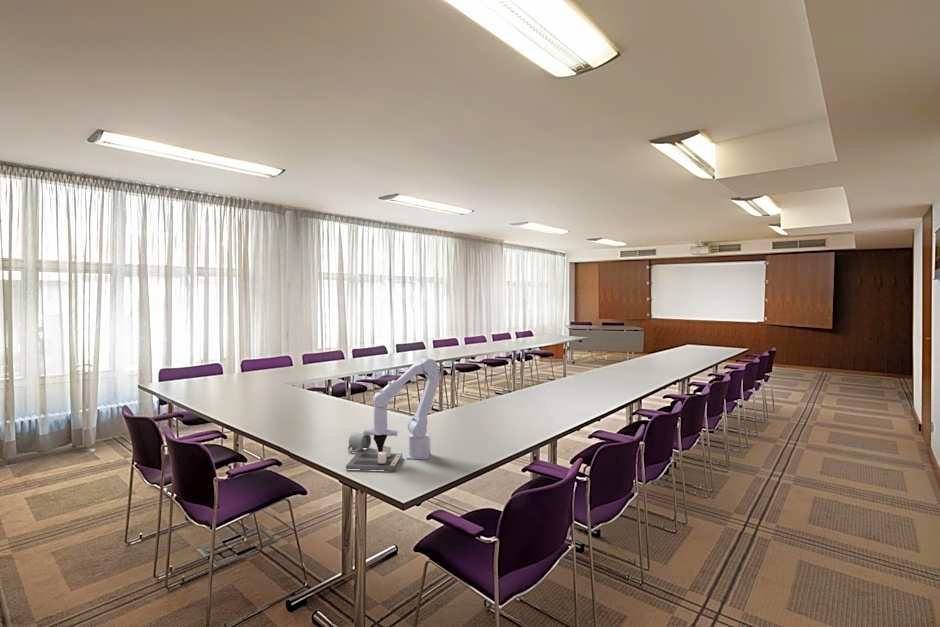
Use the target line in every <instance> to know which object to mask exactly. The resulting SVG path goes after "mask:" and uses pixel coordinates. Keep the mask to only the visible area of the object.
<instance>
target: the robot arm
mask: <svg viewBox="0 0 940 627" xmlns="http://www.w3.org/2000/svg"><path fill="white" fill-rule="evenodd" d="M423 374H424V375H425V378H426V379H427V380H426V384H425V385H424V389H423V392H422V394H421V397H420V399H419V400H420V401H419V404H418V407H417V410H416V411H415V413H414V415H413V416H412V419H411V420H410V421H408V424H407V430H408V431H409V435H408V455H407V456H406V459H408V460H409V459H410V460H428V459H429V457H430V456H431V436H428V435H427V430H428V429H427V427H428V415H429V413H430V409H431V406H432V403H433V401H434V398H435V395H436V393H437V390H438V386H439V383H440V379H441V377H440V371H439V364H438V363H437V362H436V361H435V359H433V358H429V357H428V356H422V357H420V358H419V359H418V360H416V361H415V362H414V363H413V364H411V366H410V367H409V368H408V369H407V370H405V372H404V373H402V375H401V376H399V377H398V379H396V380H395V379H392V380H389V381H388V382H387V385H386V386H384V387H383V388H382V389H379V391H378V392H376V393H375V394H374V395H373V397H372V399H371V400H372V403H373V405H374V406H373V429H363V432H362V433H363V436H366V435H370V436H373V441H374V442H375V445H376V448H377V451H378V452H377V453H379V452H383V447H384V446H385V442H386V439H387V438H388V437H389V436H391V437H392V436H394V437H398V434H399V433H398V432H399V431H398V430H396V429H395V430H394V429H393V430H392V429H388V405H389V404H390V403H389V402H390V401H391V400H392V399H393V398H394V397H396V396H397V395H398V394H399V393H400V392H401V391H402V389H403V388H402V387H403V385H405V384H406V383H407V382H409V381H410V380H411V379H412V378H414V376H416V375H423ZM426 435H427V436H426Z"/></svg>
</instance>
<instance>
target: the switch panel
mask: <svg viewBox="0 0 940 627" xmlns="http://www.w3.org/2000/svg"><path fill="white" fill-rule="evenodd" d="M378 453H379V452H356V454H355V455H354V456H353V457H352V458H351V459H350V460H349V462H348V463H347V464H346V465H345V470H346V469H360V470H384V471H395V472H396V470H397V468H398V467H399V465H400V464H401V462H400V461H402V460H403V453H395V452H393V453H392V452H391V455H390V457H387V461H386V463H378ZM401 459H402V460H401ZM398 464H399V465H398ZM397 466H398V467H397Z"/></svg>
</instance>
